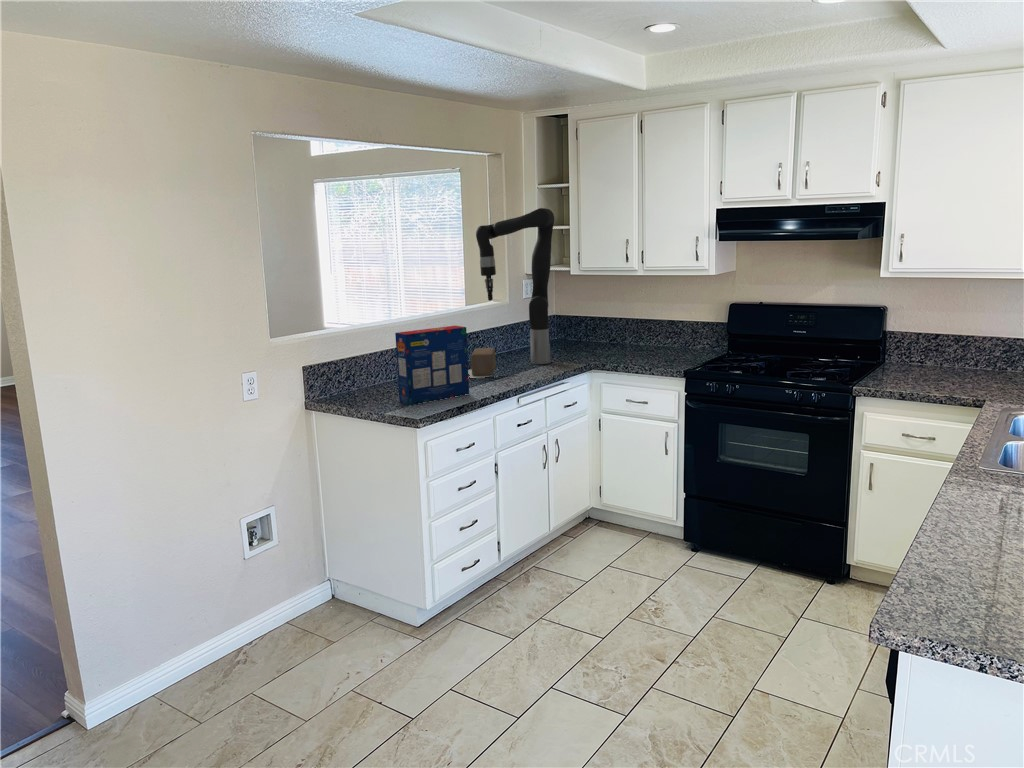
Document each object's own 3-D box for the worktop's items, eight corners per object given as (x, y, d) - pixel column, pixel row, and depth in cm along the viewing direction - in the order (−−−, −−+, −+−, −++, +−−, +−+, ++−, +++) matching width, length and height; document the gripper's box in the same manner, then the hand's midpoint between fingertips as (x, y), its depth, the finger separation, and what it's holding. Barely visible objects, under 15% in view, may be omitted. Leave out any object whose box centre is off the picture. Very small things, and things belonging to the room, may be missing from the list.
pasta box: (458, 391, 322) (455, 325, 317) (469, 394, 316) (466, 327, 310) (399, 402, 306) (395, 332, 300) (409, 405, 299) (405, 334, 294)
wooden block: (495, 347, 371) (492, 354, 351) (495, 367, 373) (493, 375, 353) (474, 348, 371) (470, 354, 351) (475, 368, 373) (471, 376, 353)
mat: (509, 367, 373) (509, 367, 373) (516, 376, 352) (516, 375, 352) (463, 370, 370) (463, 369, 370) (468, 379, 349) (468, 378, 349)
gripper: (496, 265, 380) (499, 300, 383) (494, 265, 393) (496, 299, 396) (481, 266, 379) (484, 301, 382) (479, 266, 392) (482, 300, 395)
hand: (490, 300), depth 389 cm, fingers closed
